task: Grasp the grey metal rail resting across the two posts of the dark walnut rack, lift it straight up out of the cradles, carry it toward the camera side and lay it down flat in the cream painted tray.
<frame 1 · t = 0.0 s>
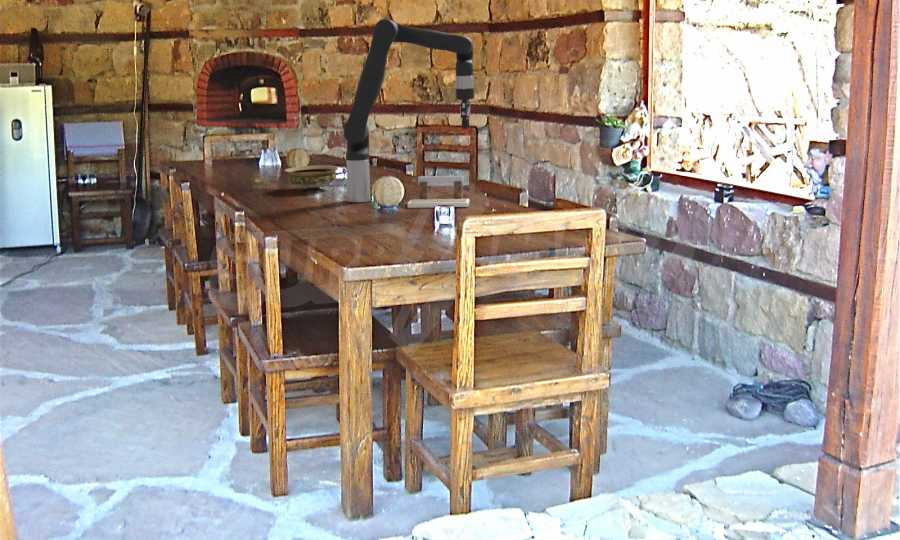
hand: (465, 128, 393), 29 cm above the table, fingers open, 8 cm apart
rail: (441, 185, 393), point 7 cm above the table, touching rack
ceramic bowl: (312, 190, 440), on the table
rack: (441, 202, 395), on the table
tray: (438, 205, 385), on the table
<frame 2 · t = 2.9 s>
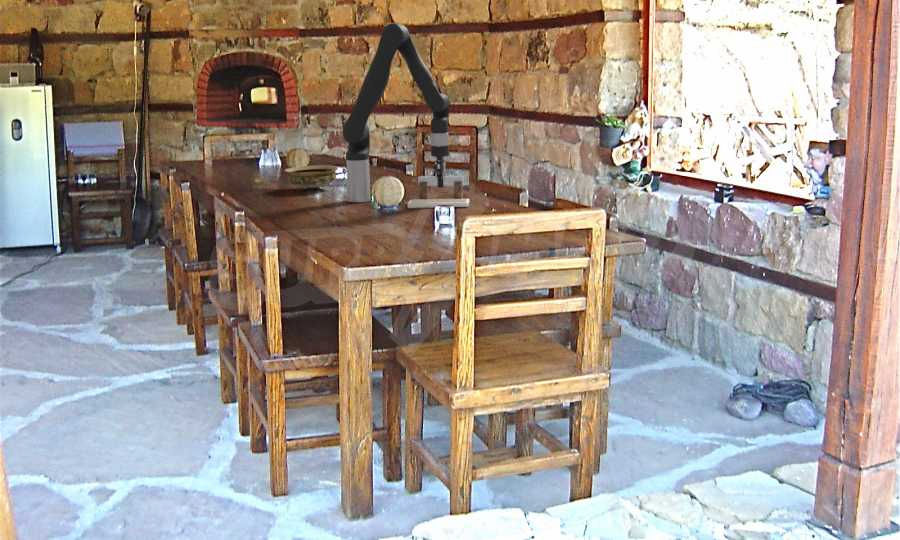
hand: (441, 186, 393), 6 cm above the table, fingers closed on rail, 3 cm apart
rail: (441, 185, 393), point 7 cm above the table, touching gripper, rack
everything else where it was.
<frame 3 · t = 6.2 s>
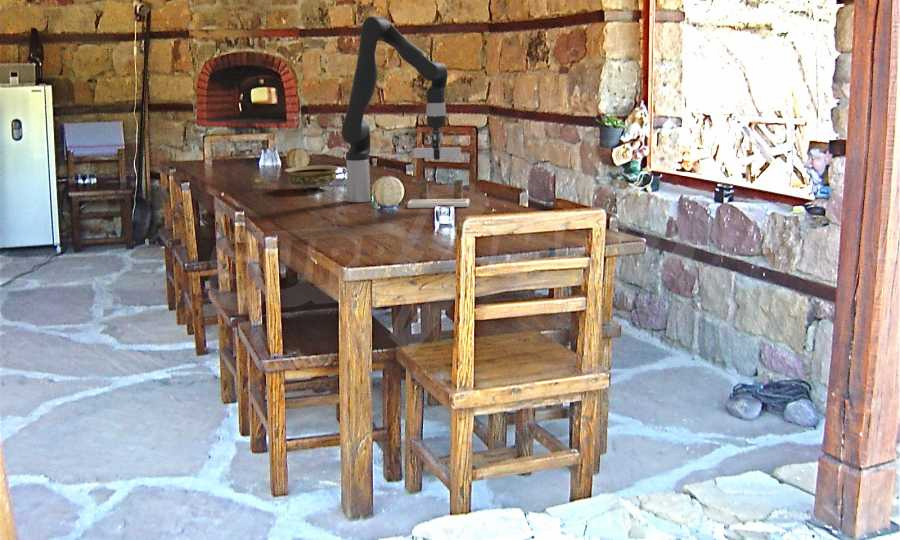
hand: (437, 158, 381), 19 cm above the table, fingers closed on rail, 3 cm apart
rail: (437, 157, 381), point 19 cm above the table, touching gripper
everything else where it was.
when the fingers open (2 cm above the table, at t = 9.5 s): rail drops 2 cm, resting on tray.
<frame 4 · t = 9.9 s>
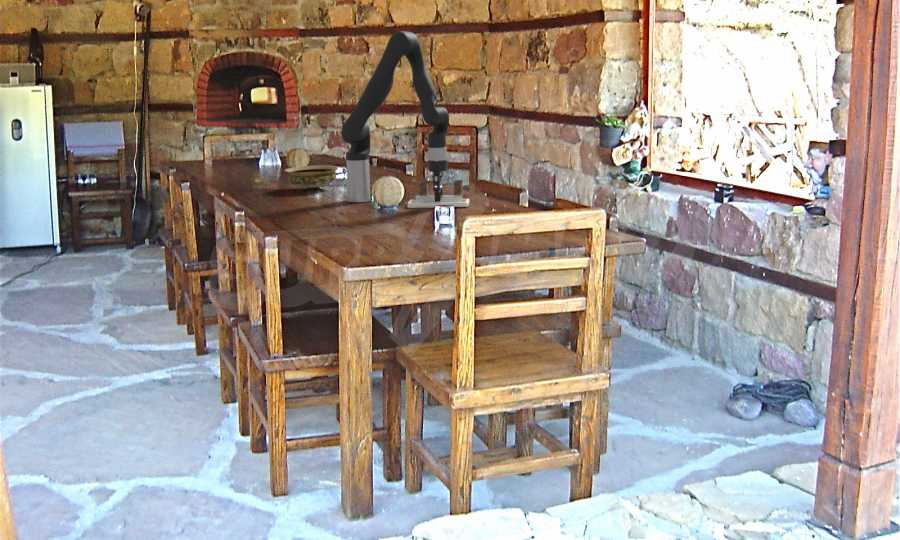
hand: (438, 200, 385), 2 cm above the table, fingers open, 7 cm apart
rail: (438, 204, 385), resting on tray
everything else where it was.
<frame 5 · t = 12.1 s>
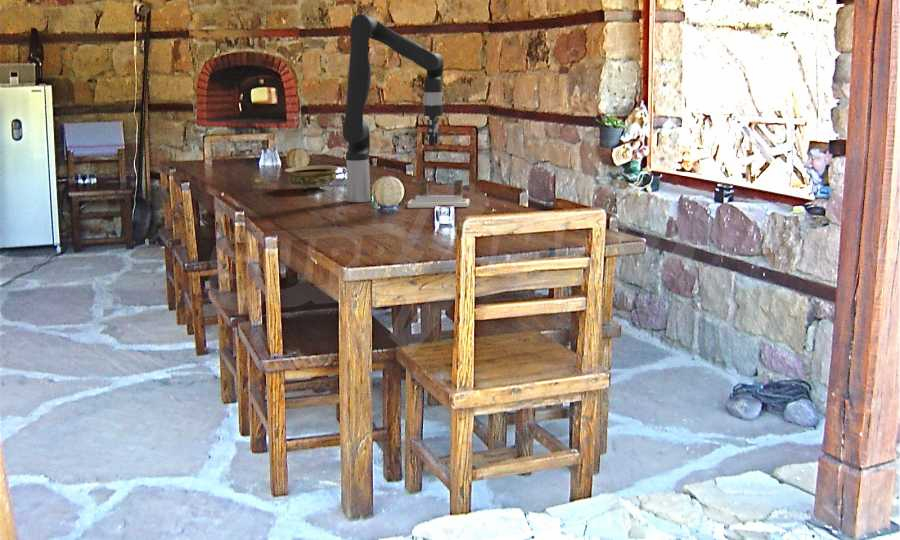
hand: (433, 144, 390), 23 cm above the table, fingers open, 8 cm apart
nothing on the table moved.
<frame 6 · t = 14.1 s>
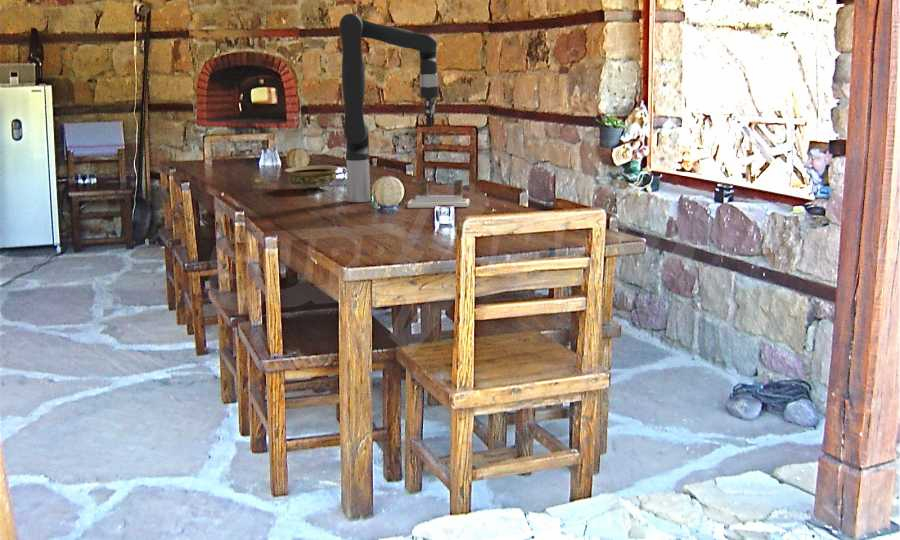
hand: (430, 125, 399), 30 cm above the table, fingers open, 8 cm apart
nothing on the table moved.
at the end: rail inside the target area on the tray (0.2 cm from its centre), point 0.5 cm above the tray's base; rail tilted 0°; the gripper is holding nothing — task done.
